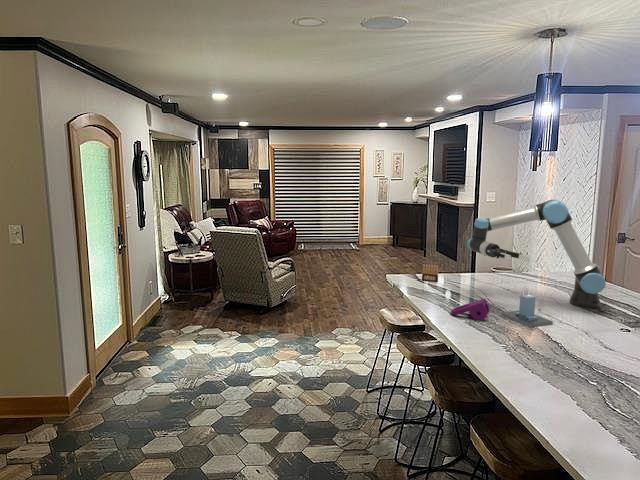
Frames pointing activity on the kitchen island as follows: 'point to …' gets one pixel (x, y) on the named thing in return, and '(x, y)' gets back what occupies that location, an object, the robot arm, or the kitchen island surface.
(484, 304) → the mounting bracket
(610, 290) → the kitchen island surface
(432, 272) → the ammunition clip
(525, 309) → the block
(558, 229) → the robot arm
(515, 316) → the plate
